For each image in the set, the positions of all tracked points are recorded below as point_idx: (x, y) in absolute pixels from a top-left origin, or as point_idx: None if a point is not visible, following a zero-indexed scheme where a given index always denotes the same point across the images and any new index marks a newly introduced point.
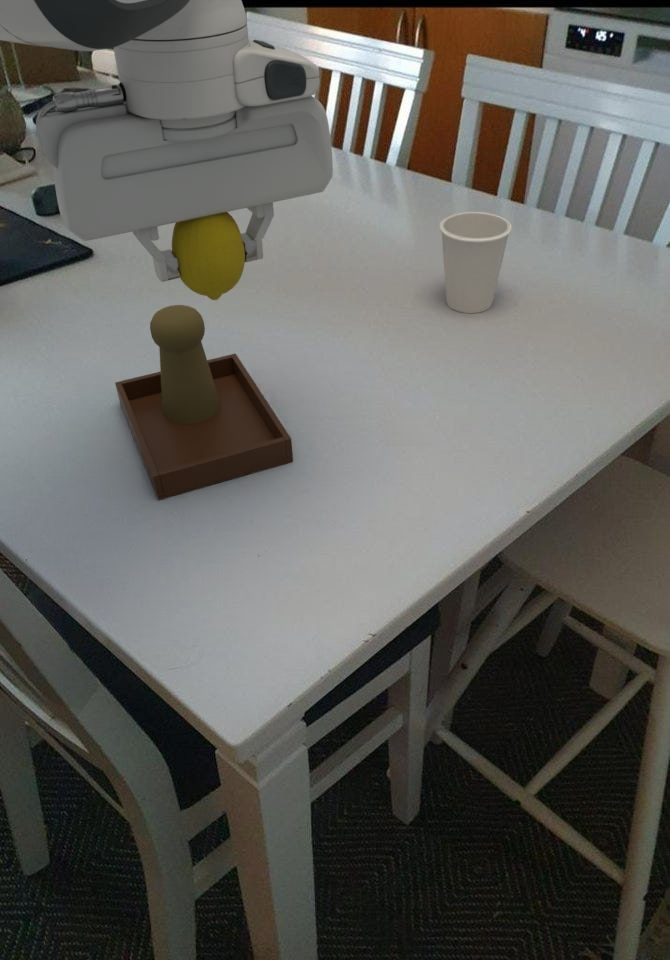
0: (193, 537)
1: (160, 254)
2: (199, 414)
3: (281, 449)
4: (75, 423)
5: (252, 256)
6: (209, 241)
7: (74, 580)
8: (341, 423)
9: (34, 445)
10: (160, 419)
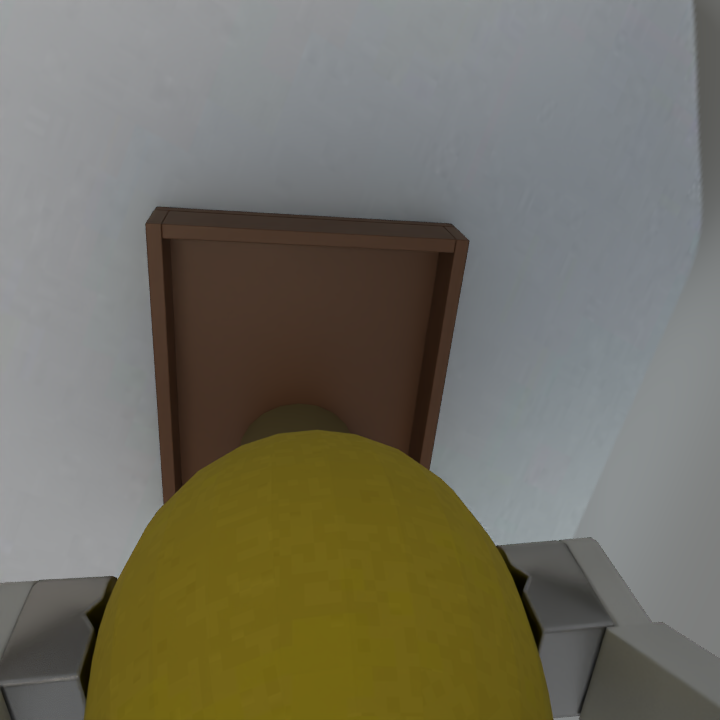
0: (437, 75)
1: (661, 660)
2: (297, 414)
3: (176, 217)
4: (489, 491)
5: (61, 593)
6: (394, 668)
7: (666, 78)
8: (2, 284)
9: (567, 462)
10: None
